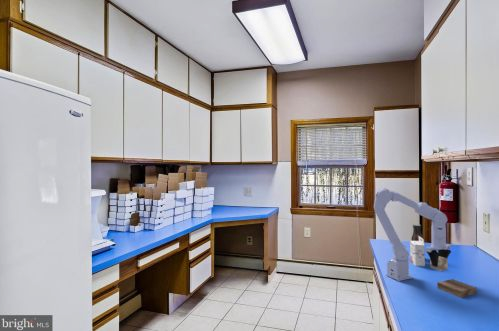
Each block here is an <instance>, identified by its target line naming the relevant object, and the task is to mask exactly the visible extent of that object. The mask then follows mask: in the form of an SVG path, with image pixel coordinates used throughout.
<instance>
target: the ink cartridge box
mask: <svg viewBox="0 0 499 331" xmlns="http://www.w3.org/2000/svg"><path fill="white" fill-rule="evenodd" d="M418 237H419V241H411V240H409V245H410V247H409V248H410V249H409V252H410V255H409V256H410V258H409V259H410V262H411V263H412V264H413V265H414V266H415V267H426V263H425V262H426V257H425V255H426V254H425V252H426V246H425V240H424V238H423V239H422V238H421V237H420V236H418ZM421 240H422V241H421Z"/></svg>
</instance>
